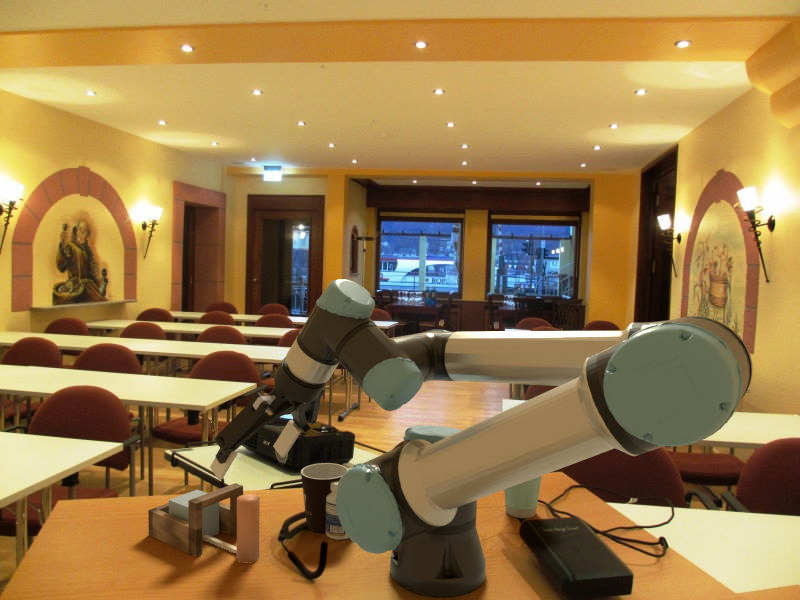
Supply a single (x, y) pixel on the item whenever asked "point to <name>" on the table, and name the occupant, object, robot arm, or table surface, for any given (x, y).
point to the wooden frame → (195, 520)
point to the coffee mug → (318, 491)
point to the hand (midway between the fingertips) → (249, 461)
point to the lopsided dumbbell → (210, 523)
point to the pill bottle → (333, 516)
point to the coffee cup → (523, 498)
